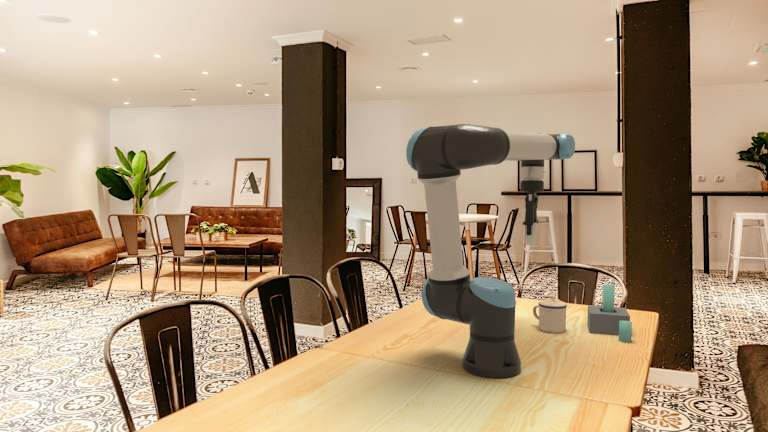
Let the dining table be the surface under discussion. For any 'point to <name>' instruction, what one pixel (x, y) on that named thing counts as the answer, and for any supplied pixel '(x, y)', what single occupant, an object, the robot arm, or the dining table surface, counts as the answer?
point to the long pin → (608, 298)
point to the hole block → (606, 320)
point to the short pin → (625, 331)
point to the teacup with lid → (551, 315)
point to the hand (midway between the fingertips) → (530, 243)
